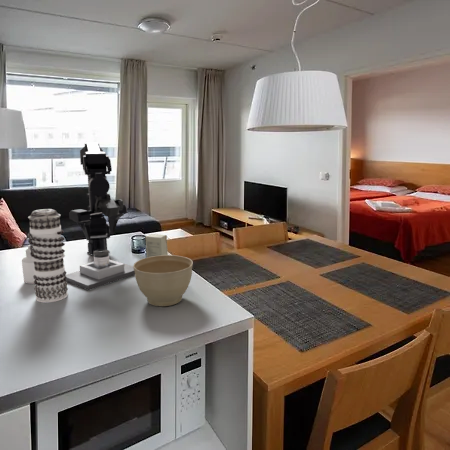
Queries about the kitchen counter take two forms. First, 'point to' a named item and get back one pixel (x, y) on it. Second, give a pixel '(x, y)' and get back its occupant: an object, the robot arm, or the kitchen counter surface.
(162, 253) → the skincare box
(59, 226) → the white patterned cylinder
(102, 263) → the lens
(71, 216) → the robot arm
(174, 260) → the planter bowl
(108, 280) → the white tray on slab
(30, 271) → the eye dropper bottle
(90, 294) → the kitchen counter surface
